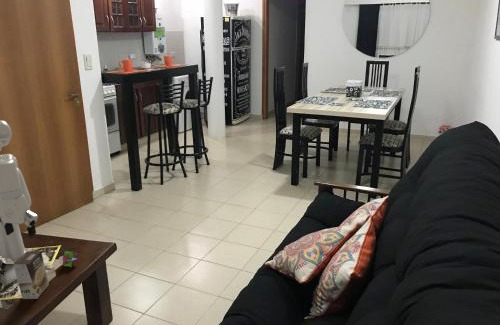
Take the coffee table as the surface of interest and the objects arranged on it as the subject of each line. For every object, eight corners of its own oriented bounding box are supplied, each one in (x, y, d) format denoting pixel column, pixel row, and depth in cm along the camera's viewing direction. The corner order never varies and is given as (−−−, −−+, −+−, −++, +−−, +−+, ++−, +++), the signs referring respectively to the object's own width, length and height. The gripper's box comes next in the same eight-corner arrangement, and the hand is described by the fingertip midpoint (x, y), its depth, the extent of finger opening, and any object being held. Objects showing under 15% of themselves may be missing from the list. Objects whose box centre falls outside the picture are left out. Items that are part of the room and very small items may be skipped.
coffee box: (37, 299, 156) (28, 264, 150) (21, 299, 156) (12, 264, 150) (49, 284, 164) (41, 250, 159) (34, 284, 164) (25, 251, 159)
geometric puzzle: (69, 253, 182) (60, 246, 175) (82, 255, 180) (73, 248, 174) (63, 268, 178) (52, 262, 172) (76, 270, 177) (66, 264, 170)
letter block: (37, 281, 166) (35, 271, 165) (45, 274, 171) (43, 264, 169) (49, 283, 165) (46, 272, 164) (57, 275, 170) (54, 265, 168)
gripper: (-18, 196, 143) (-6, 237, 149) (24, 198, 140) (34, 240, 146) (-2, 187, 150) (9, 228, 156) (38, 189, 147) (48, 230, 153)
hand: (21, 234), depth 151 cm, fingers open, 9 cm apart
